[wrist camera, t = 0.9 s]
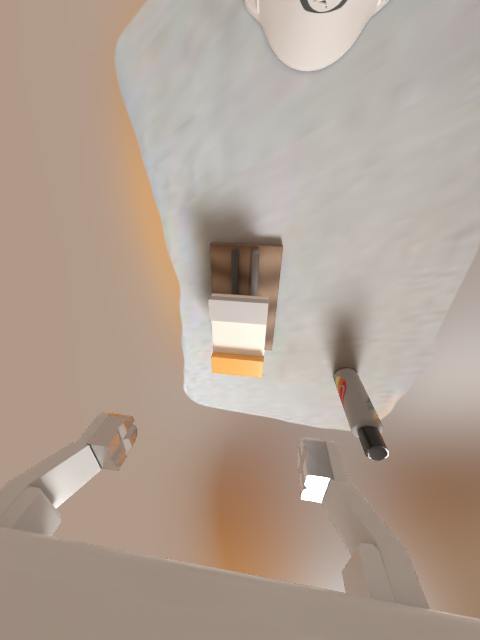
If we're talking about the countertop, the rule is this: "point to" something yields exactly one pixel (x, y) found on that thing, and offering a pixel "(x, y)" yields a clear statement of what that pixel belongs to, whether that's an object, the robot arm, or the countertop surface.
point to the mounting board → (249, 275)
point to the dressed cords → (253, 272)
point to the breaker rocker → (238, 333)
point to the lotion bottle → (361, 414)
